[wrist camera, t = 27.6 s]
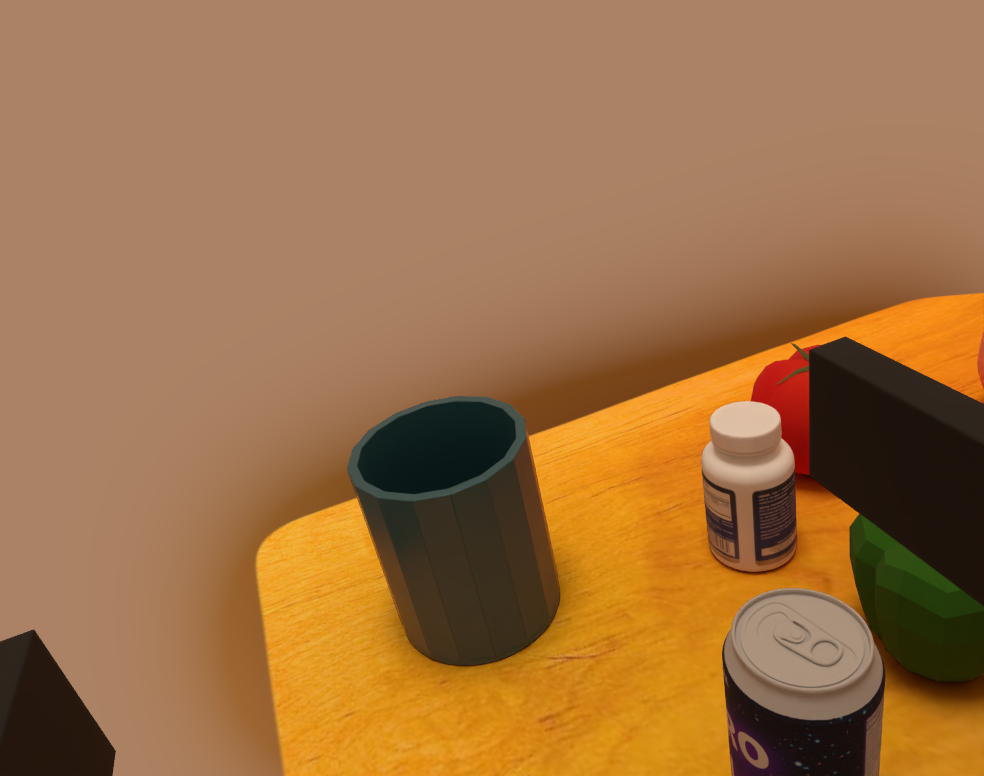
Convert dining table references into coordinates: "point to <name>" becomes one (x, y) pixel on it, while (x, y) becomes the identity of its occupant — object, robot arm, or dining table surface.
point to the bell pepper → (916, 608)
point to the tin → (459, 527)
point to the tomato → (789, 401)
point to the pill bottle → (749, 488)
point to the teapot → (981, 361)
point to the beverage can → (802, 687)
